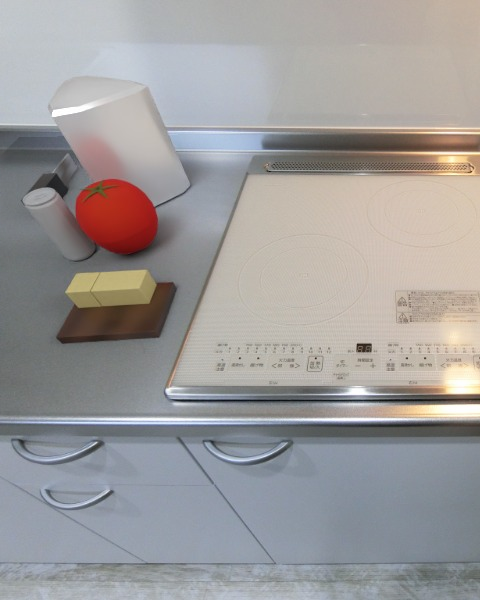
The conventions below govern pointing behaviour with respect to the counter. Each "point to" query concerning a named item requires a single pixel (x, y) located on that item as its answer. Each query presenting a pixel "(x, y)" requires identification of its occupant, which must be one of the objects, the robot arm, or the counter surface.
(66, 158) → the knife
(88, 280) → the butter slice
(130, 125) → the white plastic container
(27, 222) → the counter surface
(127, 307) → the board
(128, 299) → the butter block
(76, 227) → the beverage can
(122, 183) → the tomato
